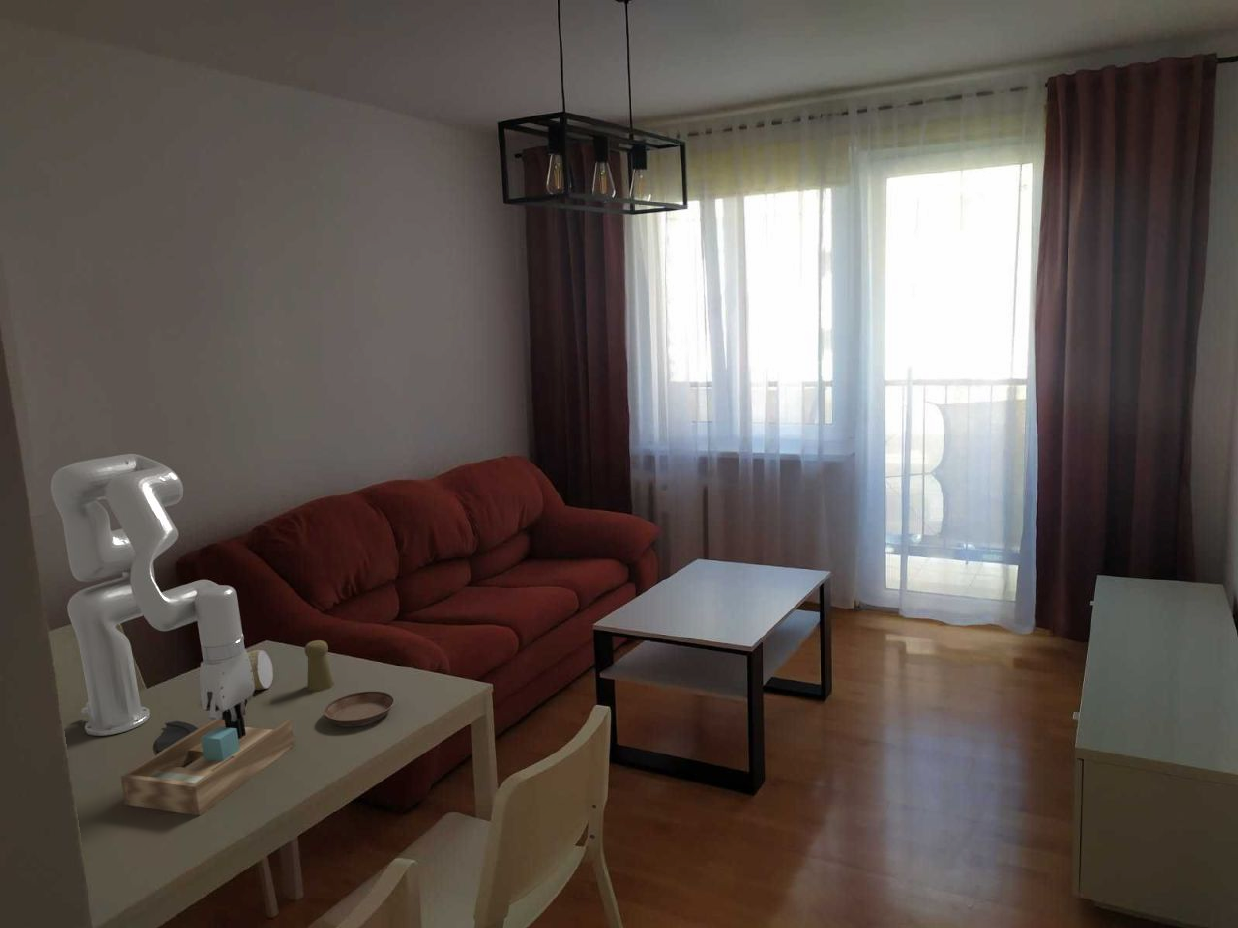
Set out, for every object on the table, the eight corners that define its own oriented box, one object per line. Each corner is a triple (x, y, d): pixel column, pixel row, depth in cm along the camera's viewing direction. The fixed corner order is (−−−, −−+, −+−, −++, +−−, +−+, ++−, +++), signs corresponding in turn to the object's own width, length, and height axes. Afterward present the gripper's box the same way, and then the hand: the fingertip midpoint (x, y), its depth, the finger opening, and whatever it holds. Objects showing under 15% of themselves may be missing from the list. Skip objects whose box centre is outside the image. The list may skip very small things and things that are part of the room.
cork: (307, 683, 214) (302, 639, 212) (334, 679, 216) (328, 635, 214) (307, 693, 208) (301, 648, 206) (334, 688, 210) (328, 644, 208)
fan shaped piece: (199, 721, 198) (198, 714, 198) (201, 745, 186) (200, 738, 186) (157, 731, 194) (156, 723, 194) (156, 756, 182) (155, 749, 182)
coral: (271, 667, 207) (229, 653, 206) (260, 704, 209) (218, 691, 209) (286, 649, 216) (246, 635, 215) (275, 684, 218) (236, 671, 218)
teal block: (204, 758, 173) (200, 737, 172) (220, 747, 177) (217, 726, 176) (223, 761, 171) (220, 739, 171) (239, 749, 176) (236, 728, 175)
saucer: (383, 695, 205) (381, 684, 204) (405, 718, 193) (403, 706, 192) (317, 714, 197) (315, 703, 197) (336, 739, 185) (334, 726, 184)
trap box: (125, 804, 164) (120, 776, 163) (227, 737, 188) (223, 713, 187) (199, 815, 158) (195, 786, 157) (294, 745, 182) (291, 720, 182)
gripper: (234, 634, 183) (246, 718, 186) (179, 663, 169) (193, 753, 172) (264, 636, 181) (277, 721, 184) (211, 665, 167) (225, 756, 170)
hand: (236, 736), depth 178 cm, fingers closed
